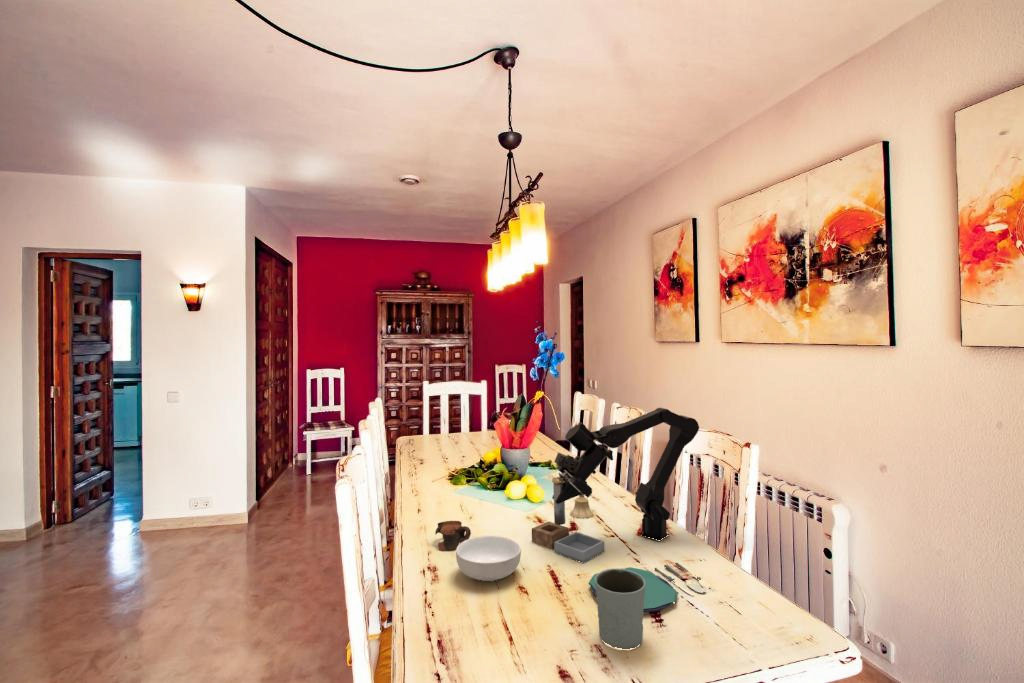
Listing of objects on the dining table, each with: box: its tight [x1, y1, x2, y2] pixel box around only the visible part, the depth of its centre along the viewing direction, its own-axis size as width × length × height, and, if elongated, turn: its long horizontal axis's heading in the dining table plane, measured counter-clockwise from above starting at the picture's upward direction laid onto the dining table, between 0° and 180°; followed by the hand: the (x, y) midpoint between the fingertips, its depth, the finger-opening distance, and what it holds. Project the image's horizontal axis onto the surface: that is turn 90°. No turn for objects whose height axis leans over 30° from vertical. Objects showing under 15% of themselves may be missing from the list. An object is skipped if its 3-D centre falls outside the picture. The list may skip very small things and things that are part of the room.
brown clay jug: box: [435, 520, 472, 551], centre depth 147 cm, size 12×10×8 cm
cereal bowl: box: [455, 535, 522, 582], centre depth 128 cm, size 17×17×7 cm
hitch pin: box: [551, 476, 566, 526], centre depth 145 cm, size 4×4×13 cm
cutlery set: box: [587, 562, 702, 614], centre depth 119 cm, size 20×30×2 cm, turn 110°
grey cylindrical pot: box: [595, 568, 646, 649], centre depth 99 cm, size 10×10×12 cm
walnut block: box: [531, 521, 570, 550], centre depth 148 cm, size 8×8×4 cm
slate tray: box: [553, 531, 606, 564], centre depth 140 cm, size 10×10×3 cm
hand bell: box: [569, 492, 595, 520], centre depth 171 cm, size 8×8×16 cm
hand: (554, 501), depth 145 cm, fingers closed on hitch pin, 3 cm apart
